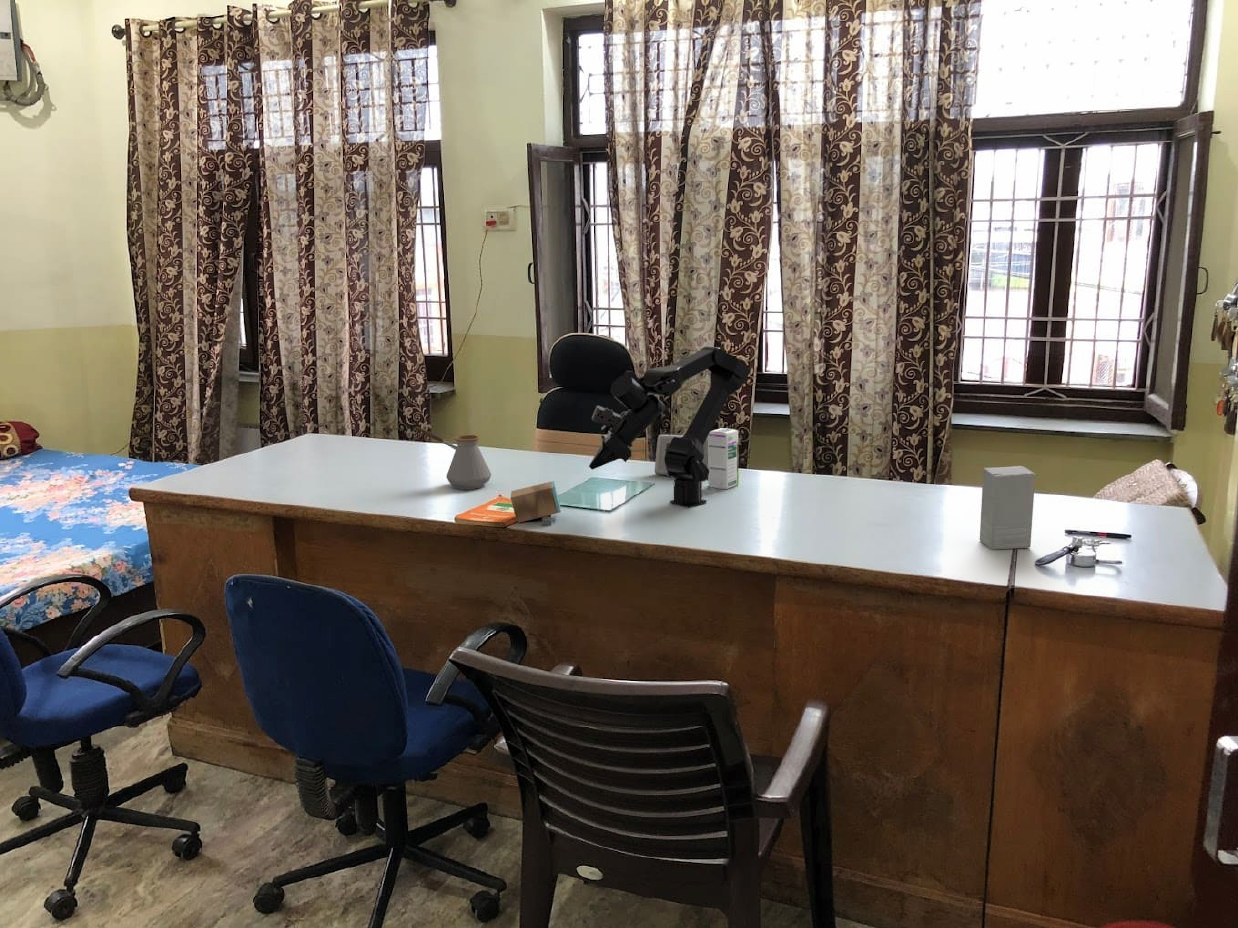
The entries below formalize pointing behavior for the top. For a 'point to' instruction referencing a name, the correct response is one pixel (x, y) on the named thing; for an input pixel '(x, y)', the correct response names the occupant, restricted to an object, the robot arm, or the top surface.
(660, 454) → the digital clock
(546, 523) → the grey thin bar
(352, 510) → the top surface
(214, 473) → the top surface
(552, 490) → the walnut block
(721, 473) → the syrup box
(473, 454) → the coffee pot
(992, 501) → the skincare box
